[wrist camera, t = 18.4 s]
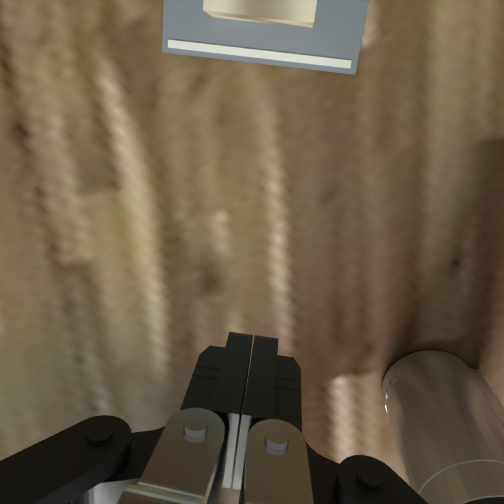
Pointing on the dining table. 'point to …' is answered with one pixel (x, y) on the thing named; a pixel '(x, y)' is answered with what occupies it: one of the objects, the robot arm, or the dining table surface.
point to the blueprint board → (269, 36)
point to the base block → (264, 11)
